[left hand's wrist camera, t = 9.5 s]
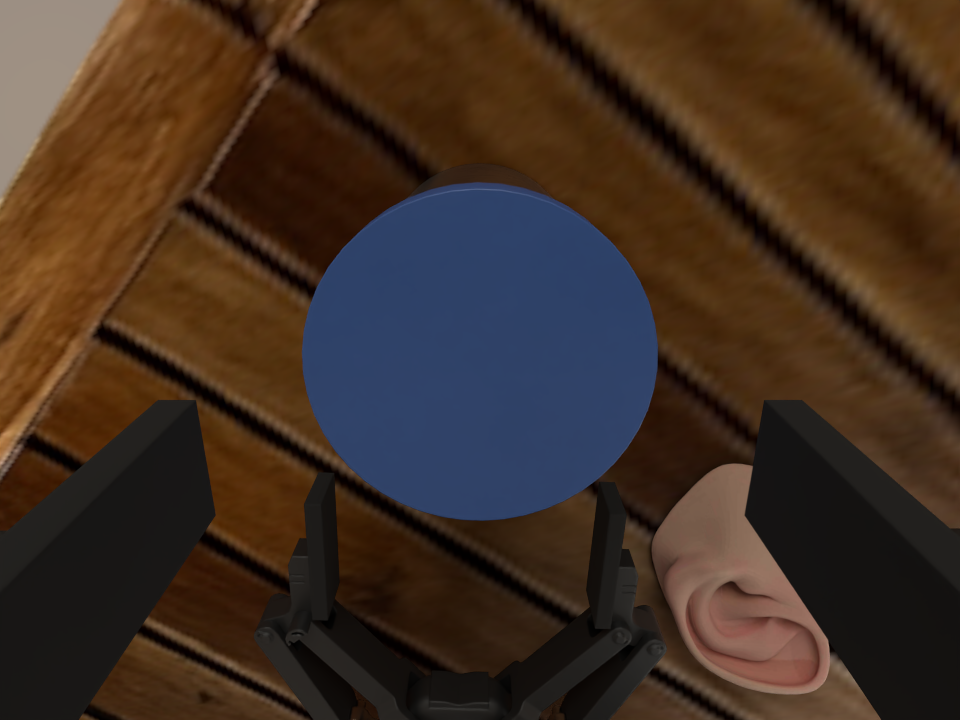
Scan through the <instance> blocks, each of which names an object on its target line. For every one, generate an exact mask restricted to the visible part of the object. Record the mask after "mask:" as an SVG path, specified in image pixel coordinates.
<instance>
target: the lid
mask: <svg viewBox="0 0 960 720" xmlns="http://www.w3.org/2000/svg"><path fill="white" fill-rule="evenodd" d="M657 356H658V345H657V337H656V329H655V322H654V319H653V315H652V311H651V308H650V304H649V301H648V299H647V297H646V294H645V292H644V290H643V287H642V285H641V283H640V281H639V279H638V277H637V276H636V274H635V273H634V271H633V269H632V268H631V266H630V265H629V263H628V261H627V260H626V259H625V258H624V257H623V255H622V254H621V253H620V252H619V251H618V249H617V248H616V247H615V246H614V245H613V243H612V242H611V241H609V240H608V239H607V238H606V237H605V236H604V235H603V234H602V233H601V232H600V231H599V230H598V229H596V228H595V227H594V226H593V225H592V224H591V223H590V222H589V221H588V220H586V219H585V218H584V217H583V216H581V215H580V214H578V213H577V212H575V211H574V210H572V209H571V208H569V207H568V206H566V205H564V204H562V203H560V202H558V201H556V200H554V199H552V198H550V197H548V196H546V195H543V194H540V193H537V192H534V191H531V190H528V189H525V188H521V187H516V186H511V185H505V184H499V183H479V182H475V183H464V184H453V185H449V186H444V187H440V188H435V189H431V190H428V191H425V192H423V193H420V194H417V195H415V196H412V197H409V198H407V199H405V200H404V201H402V202H400V203H398V204H396V205H394V206H392V207H391V208H389V209H387V210H386V211H385V212H383V213H382V214H381V215H379V216H378V217H376V218H375V219H374V220H372V221H371V222H370V223H369V224H368V225H367V226H365V227H364V228H363V229H362V230H361V231H360V232H359V233H358V234H357V235H356V236H355V237H354V238H353V239H352V240H351V241H350V242H349V243H348V244H347V245H346V246H345V247H344V248H343V249H342V250H341V251H340V253H339V254H338V255H337V257H336V258H335V259H334V261H333V262H332V263H331V264H330V266H329V267H328V269H327V271H326V272H325V274H324V276H323V278H322V280H321V281H320V283H319V285H318V287H317V289H316V292H315V294H314V297H313V299H312V302H311V304H310V307H309V311H308V315H307V319H306V323H305V328H304V336H303V347H302V359H303V375H304V380H305V385H306V390H307V395H308V398H309V401H310V404H311V407H312V409H313V412H314V415H315V417H316V419H317V421H318V423H319V425H320V427H321V429H322V431H323V433H324V435H325V436H326V438H327V439H328V441H329V442H330V444H331V445H332V447H333V448H334V450H335V451H336V452H337V454H338V455H339V456H340V457H341V458H342V459H343V460H344V462H345V463H346V464H347V465H348V466H349V467H350V468H351V469H352V470H353V471H354V472H355V473H356V474H357V475H359V476H360V477H361V478H362V479H363V480H364V481H365V482H367V483H368V484H370V485H371V486H373V487H374V488H375V489H377V490H378V491H380V492H381V493H383V494H384V495H386V496H388V497H390V498H392V499H394V500H396V501H398V502H399V503H401V504H404V505H406V506H409V507H411V508H414V509H417V510H419V511H422V512H426V513H429V514H433V515H437V516H441V517H447V518H453V519H460V520H479V521H485V520H499V519H507V518H513V517H518V516H524V515H527V514H531V513H534V512H537V511H541V510H544V509H546V508H549V507H551V506H553V505H556V504H558V503H560V502H563V501H565V500H567V499H568V498H570V497H572V496H573V495H575V494H577V493H579V492H580V491H582V490H583V489H585V488H586V487H588V486H589V485H590V484H592V483H593V482H594V481H596V480H597V479H598V478H599V477H601V476H602V475H603V474H604V473H605V472H606V471H607V470H608V469H609V468H610V467H611V466H612V465H613V464H614V463H615V462H616V461H617V459H618V458H619V457H620V456H621V455H622V453H623V452H624V451H625V450H626V448H627V447H628V446H629V444H630V442H631V441H632V439H633V438H634V436H635V434H636V433H637V431H638V430H639V428H640V425H641V423H642V421H643V419H644V417H645V414H646V412H647V410H648V407H649V404H650V400H651V397H652V394H653V390H654V386H655V379H656V373H657Z"/></svg>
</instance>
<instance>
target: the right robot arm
mask: <svg viewBox="0 0 960 720" xmlns="http://www.w3.org/2000/svg"><path fill="white" fill-rule="evenodd" d="M304 510H305V524H306V538H307V539H306V538H300V539H299V541H298V543H297V545H296V548H295V550H294V552H293V555H292V557H291V559H290V562H289V564H288V569H289V581H290V593H291V596H287V595H285V594H280V593H278V594H274V595H273V596H271V598H270V600H269V602H268V604H267V606H266V609H265V611H264V613H263V615H262V618H261V620H260V622H259V624H258V627H257V629H256V631H255V634H254V639H255V641H256V642H257V644H258V645H259V646H260V648H261V649H262V650H263V652H264V653H265V655H266V656H267V657H268V659H269V660H270V661H271V663H272V664H273V665H274V667H275V668H276V669H277V671H278V672H279V673H280V675H281V676H282V677H283V679H284V680H285V682H286V683H287V684H288V686H289V687H290V688H291V690H292V691H293V692H294V694H295V695H296V696H297V698H298V699H299V700H300V702H301V703H302V705H303V706H304V707H305V709H306V710H307V711H308V713H309V714H310V715H311V717H312V718H313V719H314V720H538V719H539V716H540V714H541V712H542V711H543V710H545V709H546V708H547V707H549V706H550V705H551V704H552V703H554V702H555V701H556V700H558V699H559V698H560V697H561V696H563V695H564V694H565V693H567V692H568V691H569V692H568V693H567V695H566V696H565V698H564V700H563V702H562V705H561V707H560V706H554V707H553V708H552V715H551V716H549V718H548V719H547V720H610V718H611V717H612V716H613V715H614V714H615V712H616V711H617V710H618V709H619V708H620V707H621V705H622V704H623V703H624V702H625V701H626V699H627V698H628V697H629V696H630V695H631V693H632V692H633V691H634V690H635V689H636V688H637V686H638V685H639V684H640V683H641V682H642V680H643V679H644V678H645V677H646V676H647V675H648V673H649V672H650V671H651V670H652V669H653V667H654V666H655V665H656V664H657V663H658V661H659V660H660V659H661V658H662V657H663V656H664V654H665V653H666V651H667V647H666V644H665V641H664V638H663V635H662V633H661V630H660V627H659V624H658V621H657V619H656V616H655V613H654V611H653V609H652V608H651V607H650V606H646V605H641V606H638V607H636V608H635V607H634V601H635V593H636V588H637V587H636V586H637V581H638V575H637V572H636V568H635V566H634V563H633V560H632V557H631V554H630V551H629V549H622V544H623V537H624V530H625V523H626V516H627V514H626V512H625V509H624V506H623V504H622V501H621V498H620V495H619V493H618V490H617V487H616V485H615V482H599V488H598V497H597V505H596V513H595V521H594V530H593V538H592V546H591V555H590V563H589V571H588V579H587V588H586V591H587V595H588V600H589V604H590V607H589V608H588V609H587V610H586V611H584V612H583V613H582V614H581V615H580V616H578V617H577V618H576V619H575V620H573V621H572V622H571V623H570V624H569V625H567V626H566V627H565V628H564V629H562V630H561V631H560V632H559V633H558V634H556V635H555V636H554V637H553V638H551V639H550V640H549V641H548V642H547V643H545V644H544V645H543V646H542V647H540V648H539V649H538V650H537V651H536V652H534V653H533V654H532V655H531V656H529V657H528V658H527V659H526V660H525V661H523V662H522V663H520V662H518V661H514V662H513V663H512V664H510V665H509V666H508V667H507V668H505V669H504V670H503V671H502V672H501V673H499V674H498V675H497V676H496V677H495V678H492V677H489V676H488V672H470V673H464V674H457V673H453V672H449V671H436V670H432V674H431V675H428V676H425V675H424V674H423V673H422V672H421V671H420V670H419V669H418V668H417V667H416V666H415V665H414V664H413V663H412V662H411V661H409V660H408V659H407V658H405V657H403V658H402V659H399V658H397V657H396V656H395V655H394V654H393V653H392V652H391V651H390V650H389V649H388V648H387V647H386V646H385V645H383V644H382V643H381V642H380V641H379V640H378V639H377V638H376V637H375V636H374V635H373V634H372V633H371V632H369V631H368V630H367V629H366V628H365V627H364V626H363V625H362V624H361V623H360V622H359V621H358V620H357V619H355V618H354V617H353V616H352V615H351V614H350V613H349V612H348V611H347V610H346V609H345V608H344V607H343V606H342V605H340V604H339V603H338V602H337V601H336V600H335V595H336V592H337V589H338V586H339V562H338V541H337V521H336V500H335V480H334V473H318V475H317V477H316V479H315V481H314V484H313V486H312V488H311V490H310V492H309V495H308V497H307V499H306V501H305V503H304ZM351 686H352V687H354V688H355V689H356V690H357V691H358V692H359V693H360V694H361V695H363V696H364V697H365V698H366V699H367V700H368V701H369V702H371V703H372V704H373V705H374V706H375V707H376V709H377V711H378V716H379V718H380V719H375V718H373V717H372V716H371V715H370V714H369V712H368V711H367V710H366V709H365V706H366V702H365V701H364V700H356V696H355V693H354V691H353V689H352V687H351Z"/></svg>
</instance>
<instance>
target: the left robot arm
mask: <svg viewBox="0 0 960 720" xmlns="http://www.w3.org/2000/svg"><path fill="white" fill-rule="evenodd" d="M214 517H215V509H214V503H213V497H212V491H211V486H210V480H209V474H208V468H207V463H206V457H205V451H204V445H203V439H202V434H201V428H200V422H199V416H198V411H197V405H196V400H158V401H157V402H155V403H154V404H153V405H152V406H151V407H150V408H148V409H147V410H146V411H145V412H144V413H143V414H142V415H140V416H139V417H138V418H137V419H136V420H135V421H133V422H132V423H131V424H130V425H129V426H128V427H127V428H125V429H124V430H123V431H122V432H121V433H120V434H119V435H117V436H116V437H115V438H114V439H113V440H112V441H110V442H109V443H108V444H107V445H106V446H105V447H104V448H102V449H101V450H100V451H99V452H98V453H97V454H95V455H94V456H93V457H92V458H91V459H90V460H89V461H87V462H86V463H85V464H84V465H83V466H82V467H80V468H79V469H78V470H77V471H76V472H75V473H74V474H72V475H71V476H70V477H69V478H68V479H67V480H66V481H64V482H63V483H62V484H61V485H60V486H59V487H57V488H56V489H55V490H54V491H53V492H52V493H51V494H49V495H48V496H47V497H46V498H45V499H44V500H42V501H41V502H40V503H39V504H38V505H37V506H36V507H34V508H33V509H32V510H31V511H30V512H29V513H27V514H26V515H25V516H24V517H23V518H22V519H21V520H19V521H18V522H17V523H16V524H15V525H14V526H12V527H11V528H10V529H9V530H8V531H0V720H79V718H80V717H81V715H82V714H83V712H84V711H85V709H86V708H87V706H88V705H89V703H90V702H91V700H92V699H93V697H94V696H95V694H96V693H97V691H98V690H99V688H100V687H101V686H102V684H103V683H104V681H105V680H106V678H107V677H108V675H109V674H110V672H111V671H112V669H113V668H114V666H115V665H116V663H117V662H118V660H119V659H120V657H121V656H122V654H123V653H124V651H125V650H126V648H127V647H128V645H129V644H130V642H131V641H132V639H133V638H134V636H135V635H136V633H137V632H138V630H139V629H140V627H141V626H142V624H143V623H144V621H145V620H146V618H147V617H148V615H149V614H150V612H151V611H152V609H153V608H154V606H155V605H156V603H157V602H158V600H159V599H160V597H161V596H162V594H163V593H164V592H165V590H166V589H167V587H168V586H169V584H170V583H171V581H172V580H173V578H174V577H175V575H176V574H177V572H178V571H179V569H180V568H181V566H182V565H183V563H184V562H185V560H186V559H187V557H188V556H189V554H190V553H191V551H192V550H193V548H194V547H195V545H196V544H197V542H198V541H199V539H200V538H201V536H202V535H203V533H204V532H205V530H206V529H207V527H208V526H209V524H210V523H211V521H212V520H213V518H214ZM745 517H746V518H747V520H748V521H749V523H750V524H751V526H752V527H753V529H754V530H755V532H756V533H757V535H758V536H759V538H760V539H761V541H762V542H763V544H764V545H765V547H766V548H767V550H768V551H769V553H770V554H771V556H772V557H773V559H774V560H775V562H776V563H777V565H778V566H779V568H780V569H781V571H782V572H783V574H784V575H785V577H786V578H787V580H788V581H789V583H790V584H791V586H792V587H793V589H794V590H795V592H796V593H797V594H798V596H799V597H800V599H801V600H802V602H803V603H804V605H805V606H806V608H807V609H808V611H809V612H810V614H811V615H812V617H813V618H814V620H815V621H816V623H817V624H818V626H819V627H820V629H821V630H822V632H823V633H824V635H825V636H826V638H827V639H828V641H829V642H830V644H831V645H832V647H833V648H834V650H835V651H836V653H837V654H838V656H839V657H840V659H841V660H842V662H843V663H844V665H845V666H846V668H847V669H848V671H849V672H850V674H851V675H852V677H853V678H854V680H855V681H856V683H857V684H858V686H859V687H860V689H861V690H862V691H863V693H864V694H865V696H866V697H867V699H868V700H869V702H870V703H871V705H872V706H873V708H874V709H875V711H876V712H877V714H878V715H879V717H880V718H881V720H960V529H950V528H949V527H947V526H946V525H945V524H944V523H943V522H942V521H941V520H939V519H938V518H937V517H936V516H935V515H934V514H933V513H931V512H930V511H929V510H928V509H927V508H926V507H924V506H923V505H922V504H921V503H920V502H919V501H918V500H916V499H915V498H914V497H913V496H912V495H911V494H909V493H908V492H907V491H906V490H905V489H904V488H903V487H901V486H900V485H899V484H898V483H897V482H896V481H894V480H893V479H892V478H891V477H890V476H889V475H888V474H886V473H885V472H884V471H883V470H882V469H881V468H880V467H878V466H877V465H876V464H875V463H874V462H873V461H871V460H870V459H869V458H868V457H867V456H866V455H865V454H863V453H862V452H861V451H860V450H859V449H858V448H856V447H855V446H854V445H853V444H852V443H851V442H850V441H848V440H847V439H846V438H845V437H844V436H843V435H841V434H840V433H839V432H838V431H837V430H836V429H835V428H833V427H832V426H831V425H830V424H829V423H828V422H827V421H825V420H824V419H823V418H822V417H821V416H820V415H818V414H817V413H816V412H815V411H814V410H813V409H812V408H810V407H809V406H808V405H807V404H806V403H805V402H803V401H802V400H764V405H763V410H762V416H761V422H760V428H759V434H758V439H757V445H756V451H755V457H754V463H753V468H752V474H751V480H750V486H749V491H748V497H747V503H746V509H745Z"/></svg>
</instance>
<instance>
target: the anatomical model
mask: <svg viewBox="0 0 960 720" xmlns="http://www.w3.org/2000/svg"><path fill="white" fill-rule="evenodd" d="M752 468H753V466H750V465H744V464H726V465H722V466H720V467H717V468H715V469H714V470H712V471H710V472H709V473H707V474H706V475H705V476H704V477H703V478H702V479H700V480H699V481H698V482H697V483H696V484H695V485H694V486H693V487H692V488H691V489H690V490H689V491H688V492H687V493H686V494H685V495H684V496H683V498H682V499H681V500H680V501H679V502H678V503H677V504H676V505H675V506H674V507H673V509H672V510H671V511H670V513H669V514H668V515H667V517H666V518H665V520H664V521H663V523H662V524H661V525H660V527H659V528H658V530H657V532H656V534H655V536H654V538H653V542H652V558H653V563H654V567H655V571H656V574H657V577H658V580H659V583H660V586H661V589H662V591H663V594H664V596H665V598H666V601H667V603H668V605H669V607H670V609H671V611H672V614H673V617H674V619H675V622H676V625H677V628H678V631H679V633H680V635H681V637H682V640H683V642H684V643H685V645H686V647H687V648H688V650H689V651H690V653H691V654H692V655H693V656H694V657H695V659H696V660H697V661H698V662H699V663H700V664H701V665H703V666H704V667H705V668H707V669H708V670H709V671H711V672H712V673H714V674H716V675H718V676H719V677H721V678H723V679H725V680H727V681H729V682H731V683H734V684H736V685H739V686H741V687H744V688H748V689H751V690H756V691H760V692H767V693H774V694H803V693H808V692H812V691H814V690H816V689H818V688H819V687H820V686H821V685H822V684H823V683H824V681H825V680H826V678H827V675H828V671H829V664H830V653H829V644H828V639H827V638H826V636H825V635H824V633H823V632H822V630H821V629H820V627H819V626H818V624H817V623H816V621H815V620H814V618H813V617H812V615H811V614H810V612H809V611H808V609H807V608H806V606H805V605H804V603H803V602H802V600H801V599H800V597H799V596H798V594H797V593H796V592H795V590H794V589H793V587H792V586H791V584H790V583H789V581H788V580H787V578H786V577H785V575H784V574H783V572H782V571H781V569H780V568H779V566H778V565H777V563H776V562H775V560H774V559H773V557H772V556H771V554H770V553H769V551H768V550H767V548H766V547H765V545H764V544H763V542H762V541H761V539H760V538H759V536H758V535H757V533H756V532H755V530H754V529H753V527H752V526H751V524H750V523H749V521H748V520H747V518H746V517H745V509H746V503H747V497H748V491H749V486H750V480H751V474H752Z"/></svg>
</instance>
